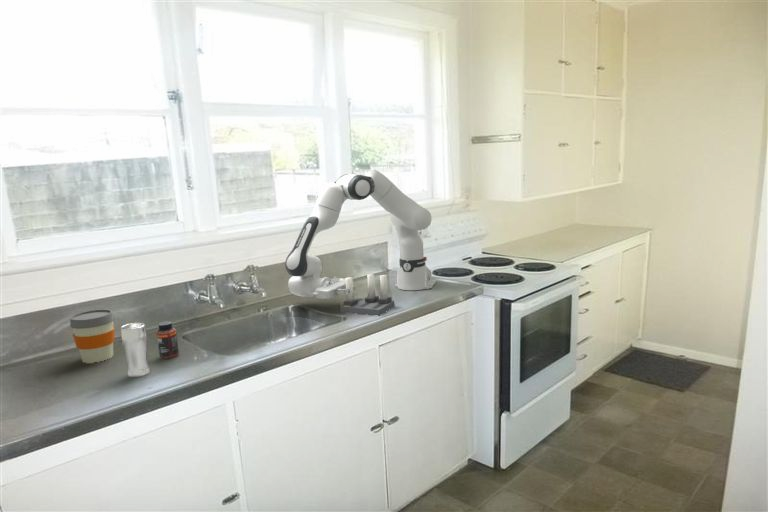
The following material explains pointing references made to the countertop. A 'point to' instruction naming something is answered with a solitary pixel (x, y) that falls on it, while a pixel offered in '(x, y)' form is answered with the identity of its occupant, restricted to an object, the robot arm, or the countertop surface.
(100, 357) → the reusable coffee cup
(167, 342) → the supplement bottle
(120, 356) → the countertop surface
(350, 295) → the switch handle
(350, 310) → the switch console
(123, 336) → the beer glass
